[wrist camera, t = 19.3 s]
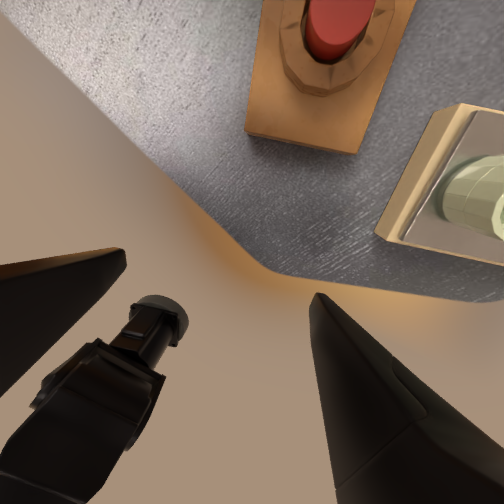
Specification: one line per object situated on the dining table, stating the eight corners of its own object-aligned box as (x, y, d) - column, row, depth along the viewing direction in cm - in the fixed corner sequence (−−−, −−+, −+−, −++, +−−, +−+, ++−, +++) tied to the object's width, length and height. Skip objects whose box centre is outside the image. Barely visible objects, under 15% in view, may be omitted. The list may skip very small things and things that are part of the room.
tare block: (348, 155, 16) (365, 153, 13) (247, 134, 17) (240, 127, 13) (431, -69, 11) (493, -160, 8) (282, -97, 11) (285, -198, 8)
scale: (522, 265, 19) (554, 278, 17) (372, 232, 19) (385, 241, 17) (630, 151, 14) (693, 149, 12) (433, 111, 15) (461, 102, 12)
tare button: (348, 65, 12) (360, 50, 10) (298, 55, 12) (301, 38, 10) (372, -11, 10) (390, -43, 9) (315, -22, 10) (322, -56, 9)
